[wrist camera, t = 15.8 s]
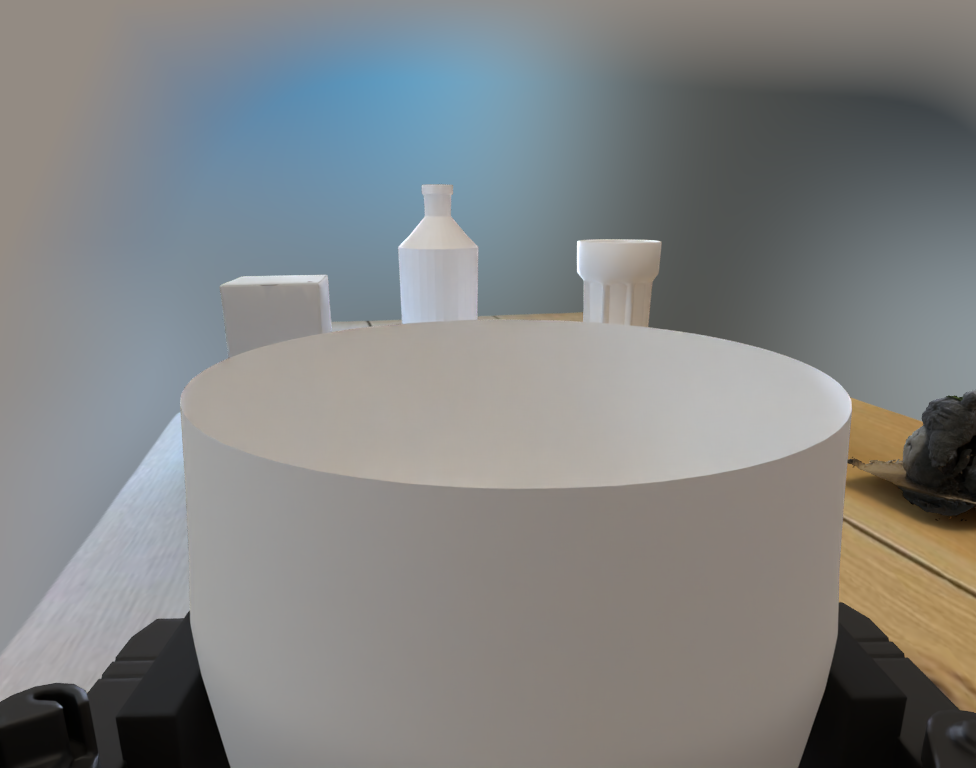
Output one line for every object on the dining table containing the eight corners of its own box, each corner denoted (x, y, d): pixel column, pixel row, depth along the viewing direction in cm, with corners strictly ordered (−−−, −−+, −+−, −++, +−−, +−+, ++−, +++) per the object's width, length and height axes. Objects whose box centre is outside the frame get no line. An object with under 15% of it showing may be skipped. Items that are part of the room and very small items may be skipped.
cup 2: (572, 373, 89) (576, 242, 85) (573, 355, 100) (577, 239, 96) (657, 376, 88) (666, 243, 84) (649, 358, 99) (657, 239, 94)
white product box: (339, 410, 73) (331, 273, 69) (331, 436, 64) (320, 282, 60) (254, 413, 72) (241, 274, 68) (234, 440, 63) (217, 283, 59)
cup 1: (419, 740, 18) (404, 308, 15) (771, 869, 15) (844, 337, 12) (128, 1147, 10) (-24, 412, 7) (743, 1653, 7) (949, 608, 4)
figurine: (923, 466, 57) (975, 361, 53) (1038, 537, 48) (1109, 417, 44) (831, 462, 54) (879, 350, 50) (935, 537, 45) (1003, 408, 41)
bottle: (425, 343, 110) (421, 187, 103) (490, 349, 105) (490, 186, 99) (387, 357, 99) (380, 184, 93) (457, 364, 95) (455, 182, 88)
